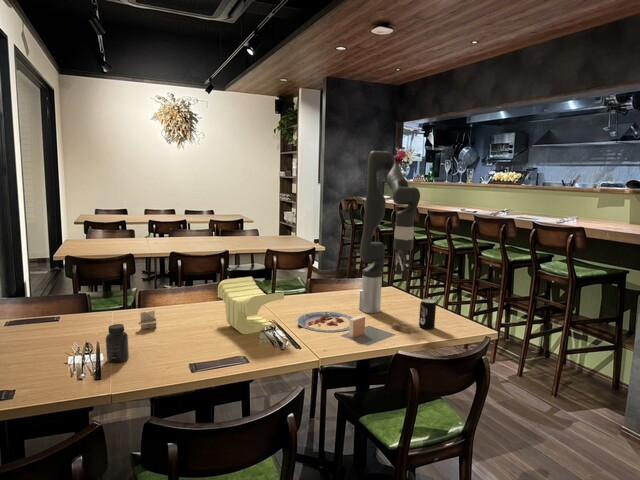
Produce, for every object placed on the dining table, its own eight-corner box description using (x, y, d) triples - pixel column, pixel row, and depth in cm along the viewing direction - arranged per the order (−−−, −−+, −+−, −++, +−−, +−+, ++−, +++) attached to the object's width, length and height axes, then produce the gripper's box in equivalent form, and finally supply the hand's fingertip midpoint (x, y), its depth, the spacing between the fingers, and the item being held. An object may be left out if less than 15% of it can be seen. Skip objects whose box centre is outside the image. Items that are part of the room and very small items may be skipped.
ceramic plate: (319, 312, 213) (320, 306, 212) (367, 324, 198) (368, 317, 198) (284, 326, 192) (284, 320, 191) (335, 341, 177) (335, 333, 177)
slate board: (339, 339, 179) (340, 335, 179) (368, 329, 191) (368, 325, 191) (367, 349, 169) (367, 345, 169) (395, 338, 182) (396, 334, 181)
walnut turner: (411, 334, 187) (412, 326, 186) (403, 337, 183) (403, 329, 182) (386, 326, 196) (386, 318, 196) (377, 329, 192) (378, 321, 191)
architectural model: (157, 330, 184) (157, 312, 183) (139, 333, 180) (139, 315, 179) (155, 327, 187) (155, 310, 186) (137, 330, 183) (137, 312, 182)
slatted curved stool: (217, 320, 197) (217, 280, 195) (251, 314, 206) (251, 276, 203) (246, 342, 173) (246, 297, 170) (283, 335, 181) (284, 292, 179)
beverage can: (434, 330, 192) (436, 303, 190) (418, 329, 193) (420, 302, 191) (434, 325, 198) (435, 299, 196) (418, 324, 200) (420, 297, 198)
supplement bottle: (111, 355, 157) (109, 322, 155) (131, 355, 157) (130, 322, 156) (103, 364, 150) (102, 329, 148) (124, 364, 151) (123, 329, 149)
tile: (349, 336, 178) (349, 319, 177) (360, 332, 183) (361, 315, 182) (353, 337, 176) (353, 320, 175) (364, 333, 181) (365, 316, 180)
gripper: (390, 234, 187) (387, 273, 189) (399, 240, 173) (396, 281, 175) (407, 234, 187) (405, 273, 190) (418, 240, 173) (415, 281, 176)
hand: (401, 277), depth 183 cm, fingers open, 8 cm apart
